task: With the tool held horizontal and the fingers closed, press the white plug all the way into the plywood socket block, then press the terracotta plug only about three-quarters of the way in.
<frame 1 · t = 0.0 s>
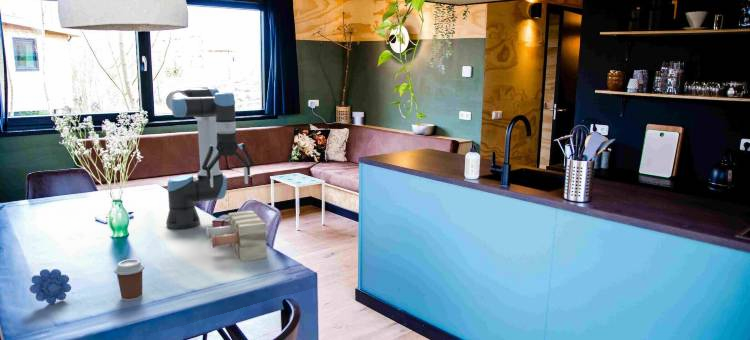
hand: (229, 185, 221), 28 cm above the table, tool pointing down, fingers open, 13 cm apart
coffee cup: (132, 297, 183), on the table
white plug: (224, 231, 228), point 8 cm above the table, slide at 0.0 cm
socket block: (235, 252, 225), on the table
blue lumpy lobed piece: (53, 304, 178), on the table
terracotta plug: (230, 239, 217), point 8 cm above the table, slide at 0.0 cm
puzzle cube: (229, 240, 241), on the table
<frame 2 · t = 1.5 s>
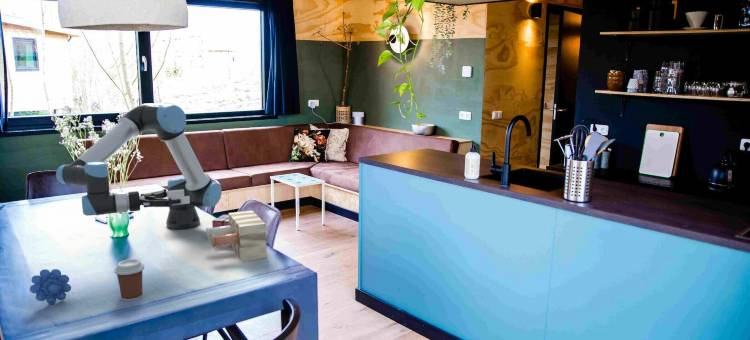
hand: (186, 196, 219), 24 cm above the table, tool horizontal, fingers open, 13 cm apart
nothing on the table moved.
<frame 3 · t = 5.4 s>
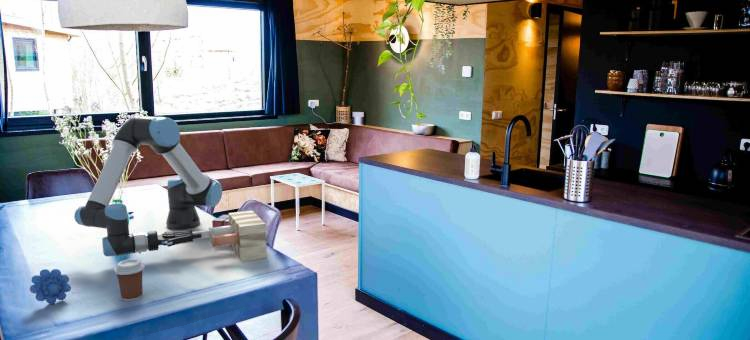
hand: (209, 233, 225), 8 cm above the table, tool horizontal, fingers closed
white plug: (226, 230, 228), point 8 cm above the table, slide at 1.0 cm, touching gripper
everything else where it was.
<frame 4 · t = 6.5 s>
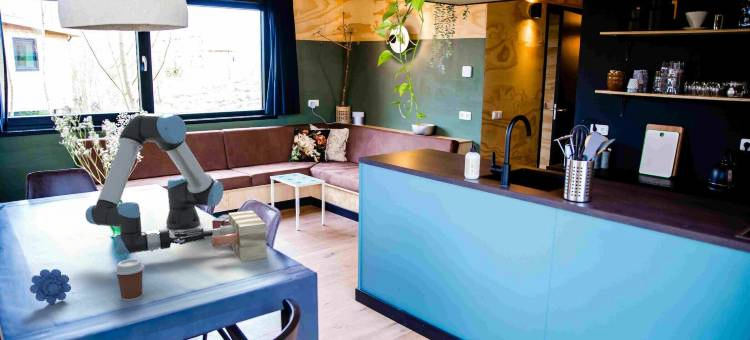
hand: (220, 231, 227), 8 cm above the table, tool horizontal, fingers closed
white plug: (237, 229, 230), point 8 cm above the table, slide at 5.4 cm, touching gripper
everything else where it was.
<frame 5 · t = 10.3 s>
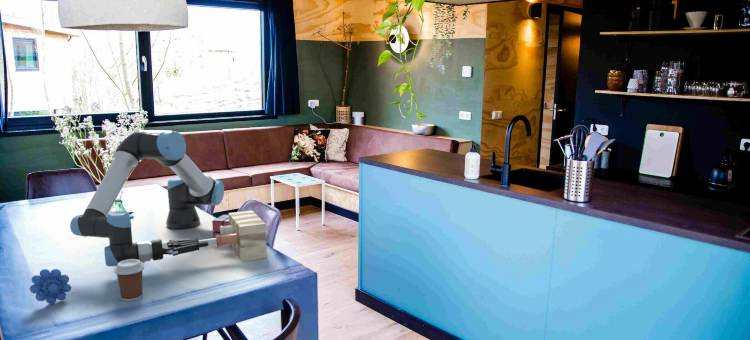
hand: (216, 241, 214), 8 cm above the table, tool horizontal, fingers closed
white plug: (237, 229, 230), point 8 cm above the table, slide at 5.5 cm
terracotta plug: (234, 238, 218), point 8 cm above the table, slide at 1.7 cm, touching gripper
everything else where it was.
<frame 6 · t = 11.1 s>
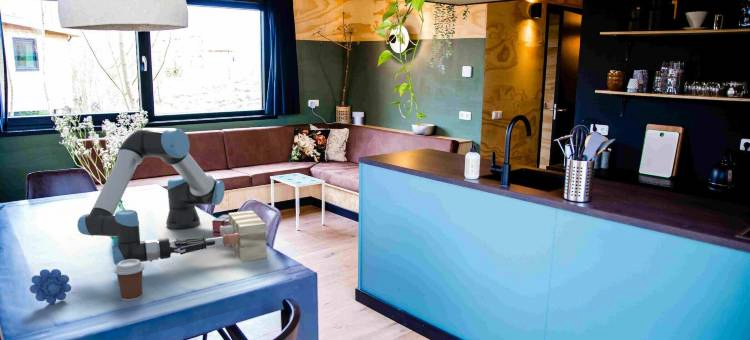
hand: (222, 240, 216), 8 cm above the table, tool horizontal, fingers closed
terracotta plug: (241, 237, 219), point 8 cm above the table, slide at 4.3 cm, touching gripper
everything else where it was.
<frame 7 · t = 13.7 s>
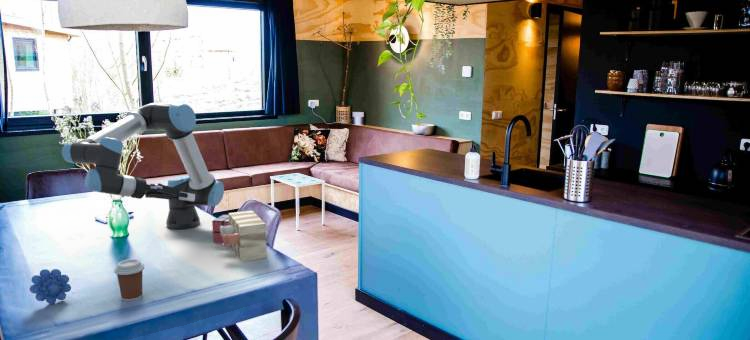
hand: (194, 197, 216), 24 cm above the table, tool tilted 70°, fingers closed
terracotta plug: (241, 237, 219), point 8 cm above the table, slide at 4.3 cm
everything else where it was.
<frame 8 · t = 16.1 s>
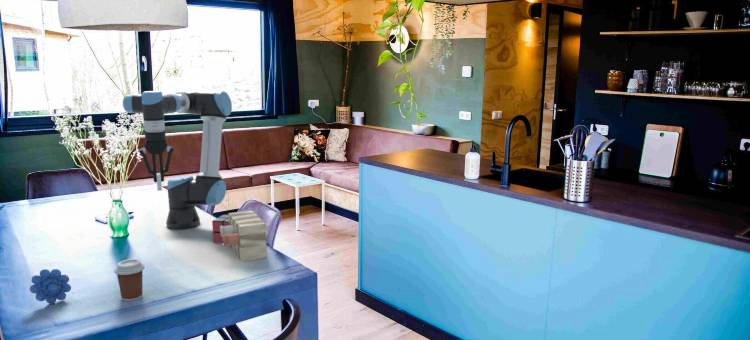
hand: (159, 189, 220), 26 cm above the table, tool pointing down, fingers closed
nothing on the table moved.
at the end: white plug slide at 5.5 cm; terracotta plug slide at 4.3 cm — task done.
